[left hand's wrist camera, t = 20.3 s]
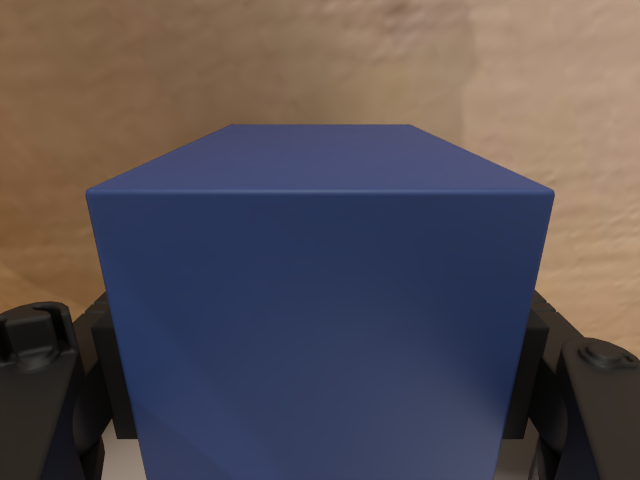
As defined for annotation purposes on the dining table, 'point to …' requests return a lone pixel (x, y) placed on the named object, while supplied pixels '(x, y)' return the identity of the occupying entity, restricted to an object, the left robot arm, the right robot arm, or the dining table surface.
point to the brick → (320, 302)
